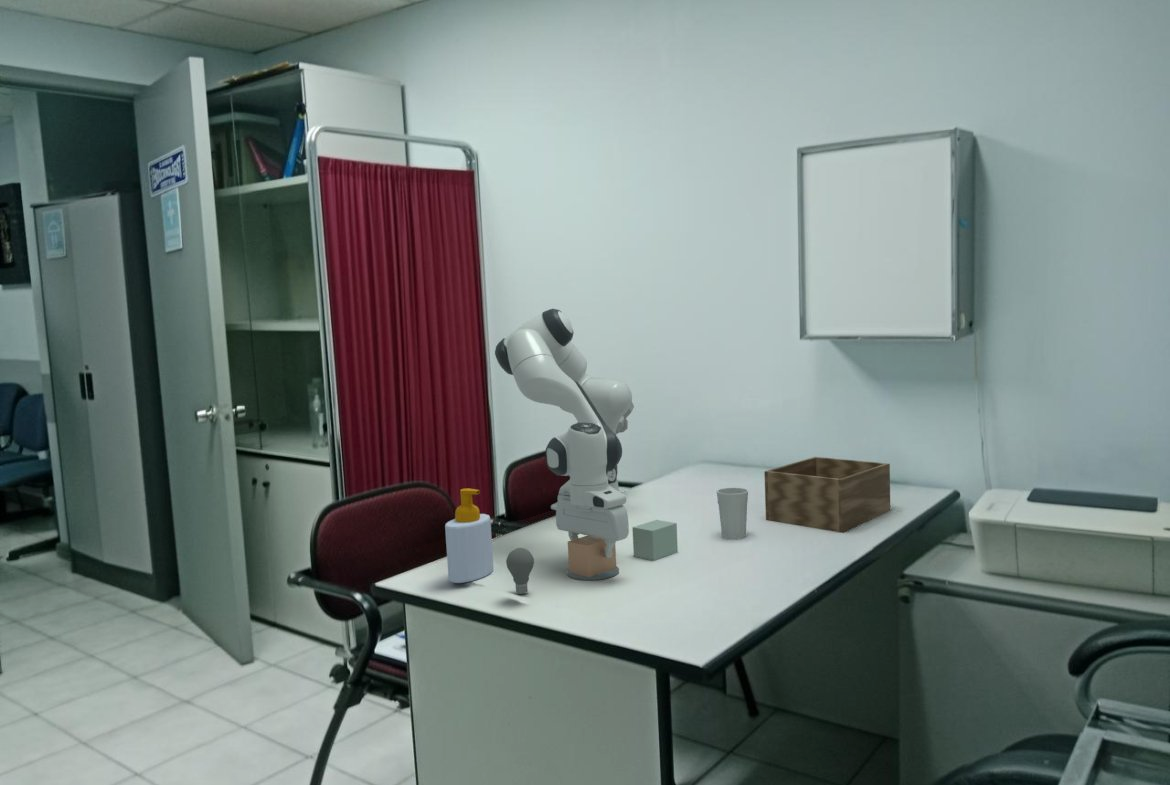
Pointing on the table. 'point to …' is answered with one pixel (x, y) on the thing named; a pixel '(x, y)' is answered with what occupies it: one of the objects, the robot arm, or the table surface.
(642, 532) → the pale green upright block
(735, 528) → the cup
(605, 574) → the slate coaster
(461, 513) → the soap bottle
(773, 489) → the walnut planter box
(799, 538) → the table surface
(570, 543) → the peach smooth rectangular block
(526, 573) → the light bulb
